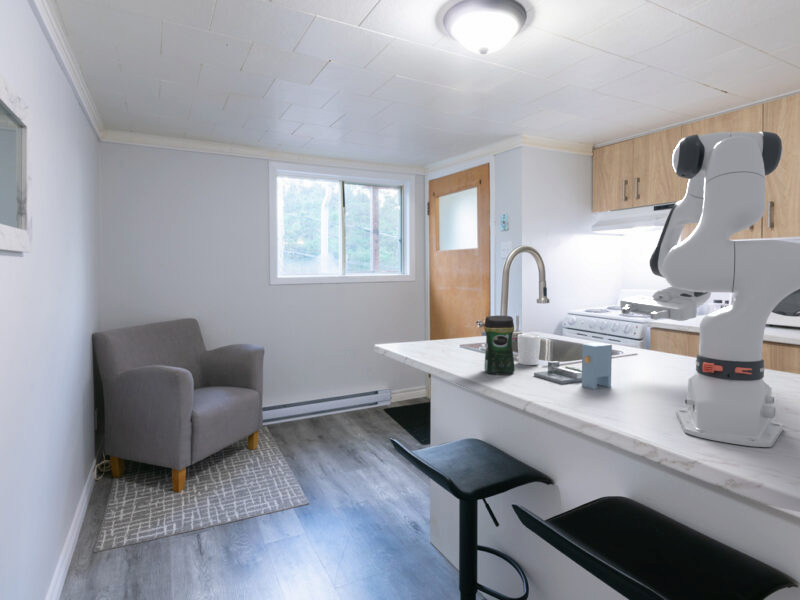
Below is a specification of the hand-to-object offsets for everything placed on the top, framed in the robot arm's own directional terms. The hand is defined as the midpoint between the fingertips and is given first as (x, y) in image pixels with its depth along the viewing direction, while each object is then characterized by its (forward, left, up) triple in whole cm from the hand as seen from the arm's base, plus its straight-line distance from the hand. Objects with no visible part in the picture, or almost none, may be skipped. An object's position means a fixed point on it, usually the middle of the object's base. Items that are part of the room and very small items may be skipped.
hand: (637, 314), depth 136 cm
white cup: (+9, +36, -20) cm, 42 cm away
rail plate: (-6, +19, -20) cm, 28 cm away
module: (-12, +8, -20) cm, 25 cm away
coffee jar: (-10, +39, -20) cm, 45 cm away
